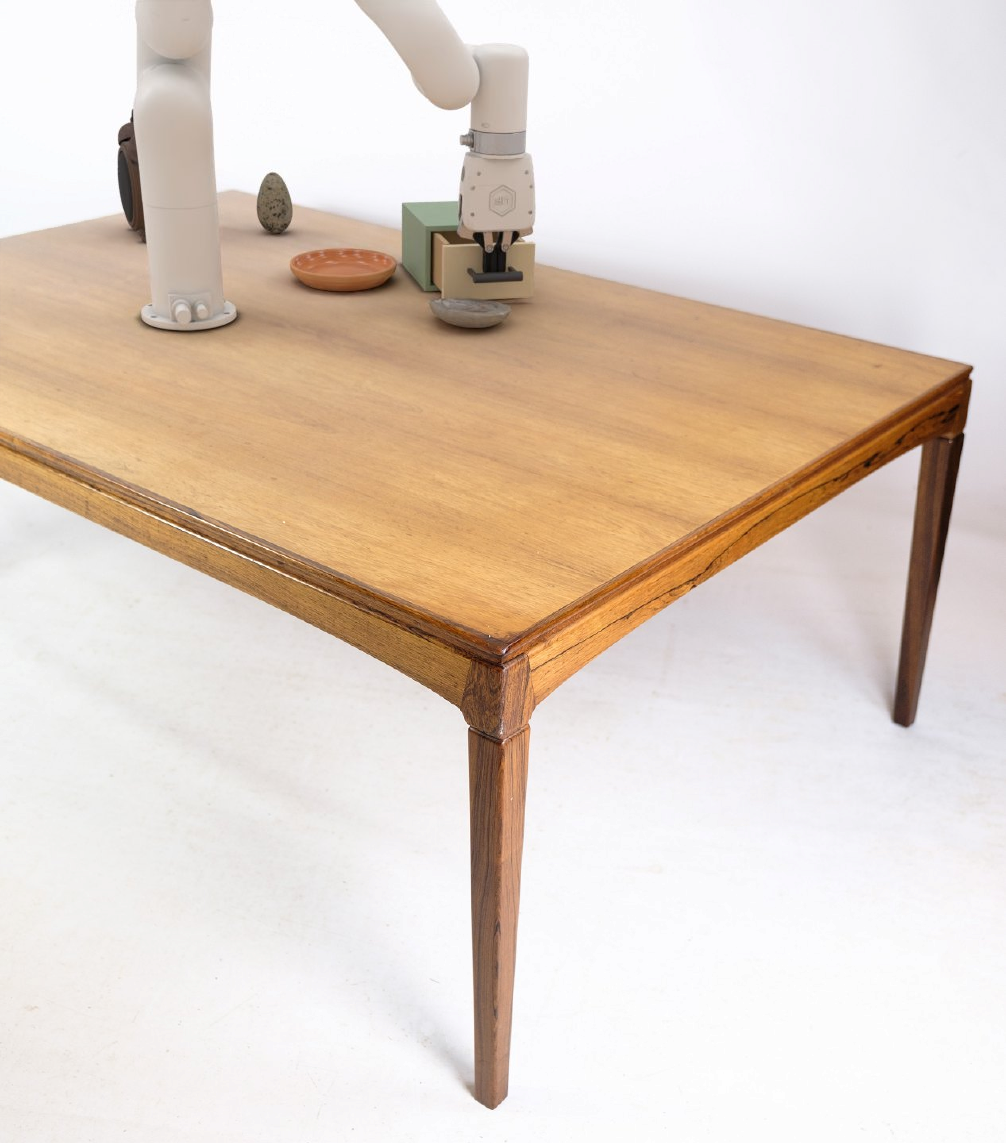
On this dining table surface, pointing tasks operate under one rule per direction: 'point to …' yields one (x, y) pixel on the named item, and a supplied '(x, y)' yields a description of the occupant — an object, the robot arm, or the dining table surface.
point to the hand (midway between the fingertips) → (493, 277)
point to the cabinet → (424, 235)
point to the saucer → (343, 268)
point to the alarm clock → (130, 178)
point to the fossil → (469, 311)
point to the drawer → (479, 268)
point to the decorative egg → (274, 204)
